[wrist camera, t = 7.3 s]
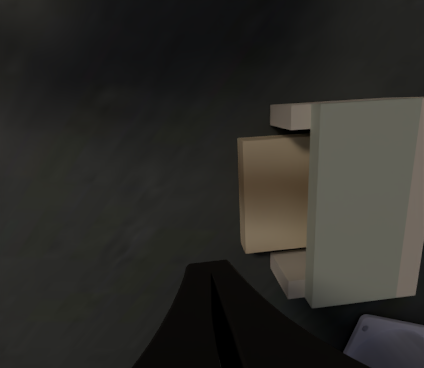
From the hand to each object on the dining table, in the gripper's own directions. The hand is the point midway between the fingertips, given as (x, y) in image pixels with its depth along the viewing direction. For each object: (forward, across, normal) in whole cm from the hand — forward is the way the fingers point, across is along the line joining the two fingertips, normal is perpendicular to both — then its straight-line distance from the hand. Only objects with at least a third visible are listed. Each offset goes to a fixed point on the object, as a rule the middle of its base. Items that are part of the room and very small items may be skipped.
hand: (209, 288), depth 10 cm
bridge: (+9, -8, 0) cm, 12 cm away
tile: (+10, -7, 0) cm, 12 cm away
